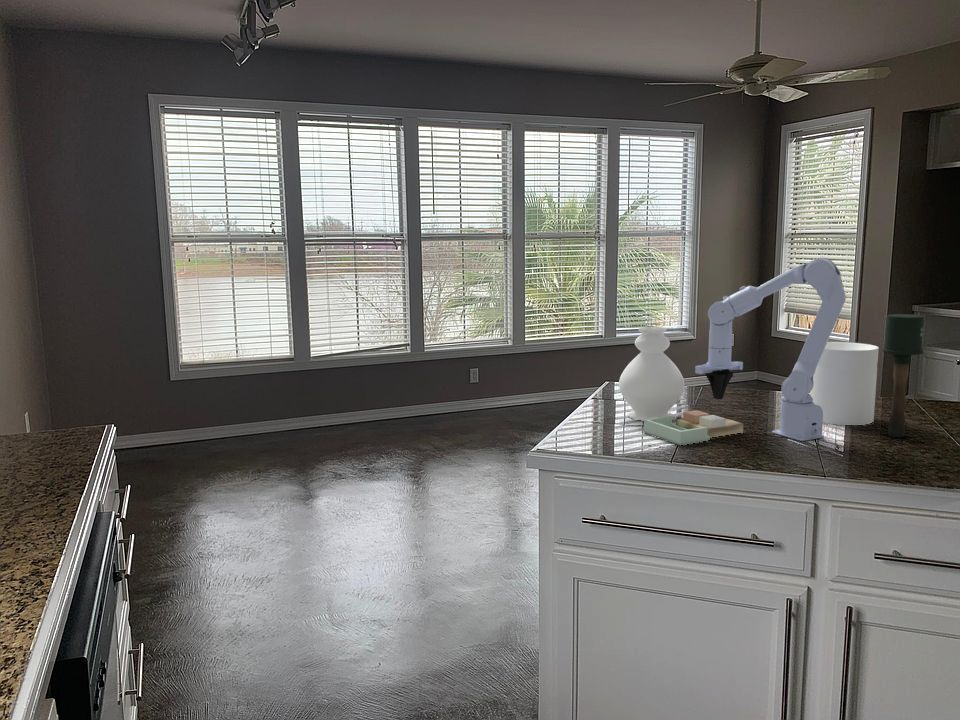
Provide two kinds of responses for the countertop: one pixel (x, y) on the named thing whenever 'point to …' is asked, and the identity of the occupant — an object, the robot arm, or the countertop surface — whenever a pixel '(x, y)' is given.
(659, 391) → the decorative vase
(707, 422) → the cream tile
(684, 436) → the tray
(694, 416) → the terracotta tile
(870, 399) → the canister
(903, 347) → the stick grenade
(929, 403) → the countertop surface
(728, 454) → the countertop surface
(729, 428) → the board
